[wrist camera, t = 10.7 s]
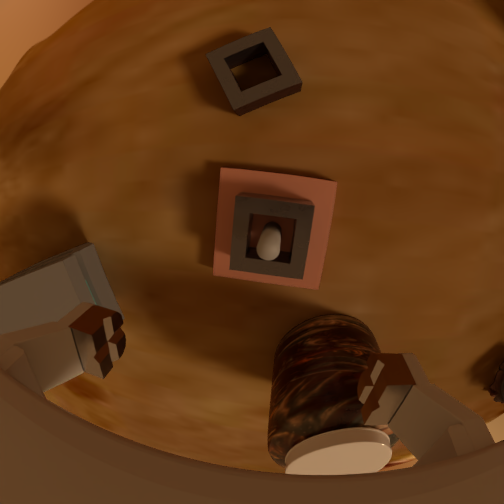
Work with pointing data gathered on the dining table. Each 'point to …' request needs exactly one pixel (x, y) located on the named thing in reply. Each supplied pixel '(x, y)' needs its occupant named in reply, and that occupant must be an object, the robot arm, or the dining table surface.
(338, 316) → the jar
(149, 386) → the dining table surface
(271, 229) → the keeper
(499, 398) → the pottery mug
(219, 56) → the loose link
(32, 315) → the grey lidded box
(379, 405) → the robot arm
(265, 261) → the link
